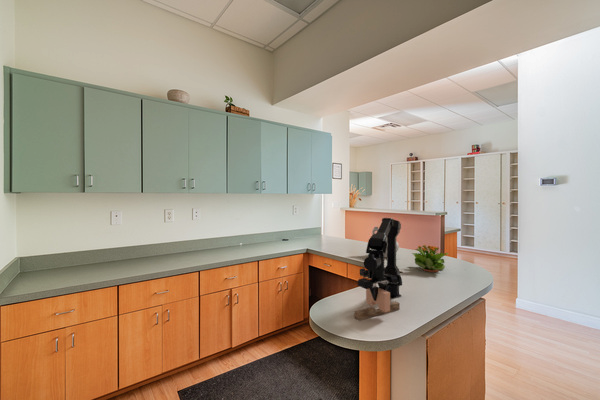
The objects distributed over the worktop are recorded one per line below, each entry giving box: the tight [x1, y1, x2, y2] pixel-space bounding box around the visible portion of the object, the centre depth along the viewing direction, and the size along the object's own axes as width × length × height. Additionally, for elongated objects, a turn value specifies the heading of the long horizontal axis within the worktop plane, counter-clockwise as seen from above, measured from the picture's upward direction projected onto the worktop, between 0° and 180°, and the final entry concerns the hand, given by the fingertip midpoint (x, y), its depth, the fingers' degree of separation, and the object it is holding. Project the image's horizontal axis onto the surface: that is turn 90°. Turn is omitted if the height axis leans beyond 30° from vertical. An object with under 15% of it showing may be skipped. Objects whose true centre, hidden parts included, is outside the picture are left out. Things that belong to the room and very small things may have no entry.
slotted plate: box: [365, 288, 391, 313], centre depth 122 cm, size 3×12×8 cm, turn 27°
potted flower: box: [412, 244, 449, 273], centre depth 189 cm, size 25×24×18 cm
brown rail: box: [353, 300, 400, 321], centre depth 122 cm, size 24×2×3 cm, turn 117°
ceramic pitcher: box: [371, 226, 400, 258], centre depth 234 cm, size 22×20×25 cm
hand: (377, 299), depth 122 cm, fingers closed on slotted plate, 3 cm apart
